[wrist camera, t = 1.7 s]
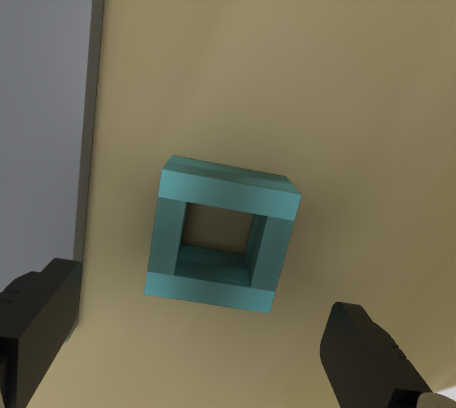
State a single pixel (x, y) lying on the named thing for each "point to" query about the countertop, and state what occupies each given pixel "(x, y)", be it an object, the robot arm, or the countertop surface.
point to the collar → (213, 259)
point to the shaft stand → (46, 130)
